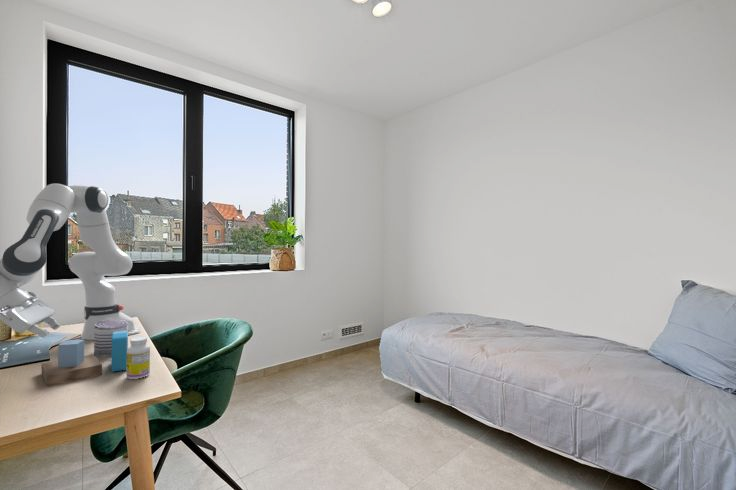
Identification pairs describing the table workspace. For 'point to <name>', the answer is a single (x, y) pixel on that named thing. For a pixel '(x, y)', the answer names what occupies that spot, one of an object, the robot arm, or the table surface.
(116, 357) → the data package
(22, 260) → the robot arm
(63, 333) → the table surface
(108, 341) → the can
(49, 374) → the walnut base block
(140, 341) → the supplement bottle
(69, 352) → the slate blue block
